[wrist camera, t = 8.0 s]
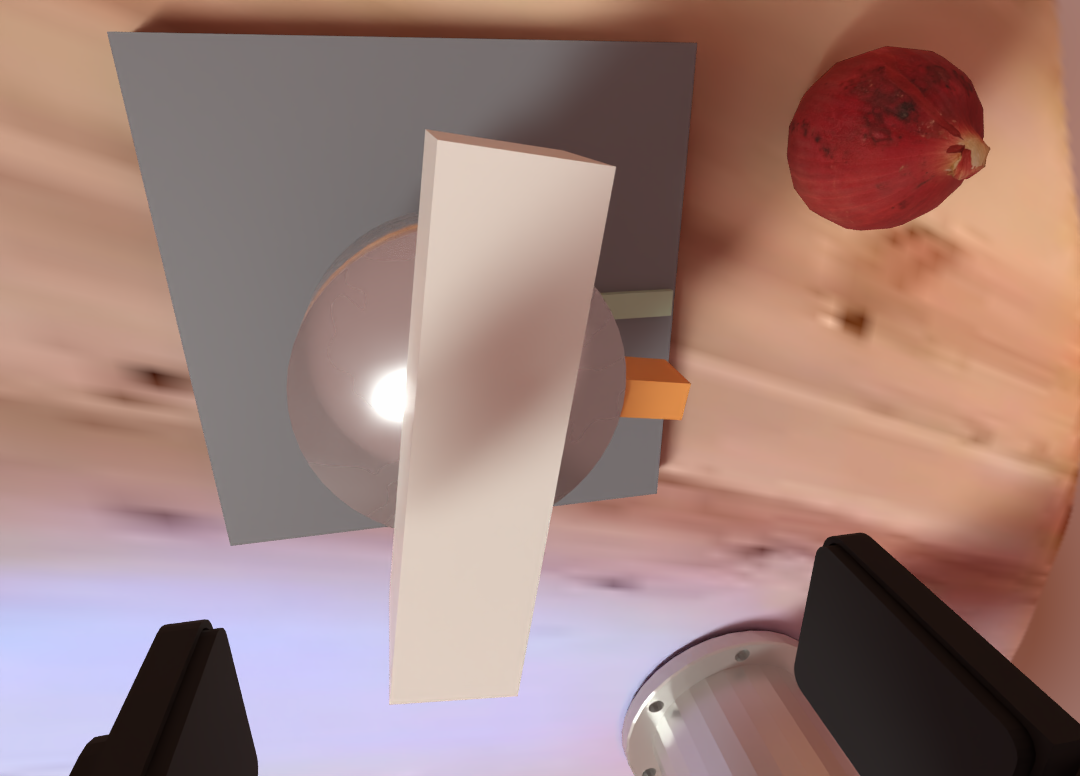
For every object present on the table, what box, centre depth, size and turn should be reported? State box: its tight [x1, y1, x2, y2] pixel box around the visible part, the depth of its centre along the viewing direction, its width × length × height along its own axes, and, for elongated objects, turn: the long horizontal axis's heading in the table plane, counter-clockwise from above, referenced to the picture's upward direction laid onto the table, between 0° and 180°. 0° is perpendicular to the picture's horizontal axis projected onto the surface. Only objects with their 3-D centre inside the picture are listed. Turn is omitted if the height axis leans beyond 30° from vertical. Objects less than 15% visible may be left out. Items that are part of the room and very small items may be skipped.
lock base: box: [107, 32, 697, 546], centre depth 23 cm, size 18×18×6 cm
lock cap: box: [286, 129, 691, 705], centre depth 17 cm, size 11×13×7 cm
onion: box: [787, 46, 990, 230], centre depth 22 cm, size 6×6×8 cm
